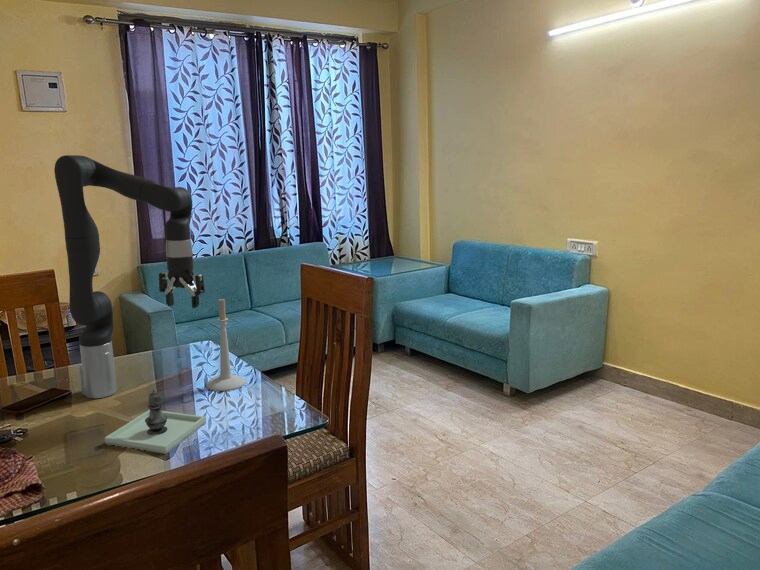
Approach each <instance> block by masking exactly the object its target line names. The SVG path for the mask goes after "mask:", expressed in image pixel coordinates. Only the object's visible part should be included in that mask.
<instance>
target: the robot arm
mask: <svg viewBox="0 0 760 570" xmlns="http://www.w3.org/2000/svg"><path fill="white" fill-rule="evenodd" d="M53 170H54V171H53V172H54V178H55V182H56V187H57V192H58V196H59V201H60V205H61V206H60V207H61V214H62V220H63V221H62V222H63V230H64V241H65V250H66V255H67V256H66V257H67V264H68V265H67V266H68V267H67V268H68V279H69V280H68V281H69V303H68V304H69V313H70V315H71V317H72V320H74V322H75V323H76V324H78V325H79V326H85V328H84V330H83V331H82V332H81V333H80V335H79V337H78V342H79V351H80V359H81V365H80V367H79V376H80V386H81V394H82V396H85V397H86V398H89V399H102V398H106V397H110V396H112V395H114V394H116V392H117V381H116V371H115V370H116V369H115V360H114V350H113V341H112V340H113V339H112V335H113V333H114V313H113V310H114V309H113V305H112V301H111V299H110V297H109V295H107V294H106V293H105V292H103V291H94V289H93V288H94V287H93V279H94V274H95V271H96V268H97V264H98V263H99V262H98V261H99V259H100V254H101V243H100V233H99V229H98V226H97V224H96V222H95V220H94V218H93V217H92V215H91V214H90V212H89V210H88V208H87V206H86V201H85V195H84V194H85V193H84V187H88V186H89V187H90V186H91V187H98V188H105V189H109V190H112V191H114V192H116V193H118V194H120V195H121V196H123V197H125V198H127V199H131V200H133V201H134V200H135V201H138V202H141V203H144V204H147V205H148V204H149V205H150V206H152V207H155V208H156V209H159V210H161V211H164V212H169V214H170V215H169V219H167V221H166V222H165V227H164V231H165V255H166V256H165V259H166V270H167V271H162V272H159V274H158V287H159V289H158V290H159V292H160V293H164V294H165V301H166V302H165V303H166V304H167V307H172V306H174V305H175V301H174V290H175V289H176V288H178V289H179V288H181V289H186V291H188V292H189V294H191V308H192V309H197V308H198V307H199V306H200V295H202V294H205V292H206V290H205V279H204V275H203V274H202V273H199V274H194V257H193V255H194V254H193V245H192V240H191V239H192V237H191V225H190V224H191V221H192V220H191V219H192V213H193V198H192V195H191V192H190V191H189V190H188V189H187V188H185V187H182V186H176V187H175V186H174V187H169V186H165V185H161V184H159V183H158V181H155V180H152V179H149V178H145V177H143V176H139V175H134V174H132V173H128V172H124V171H120V170H117V169H114V168H112V167H109V166H107V165H105V164H102V163H101V162H99V161H96V160H94V159H92V158H90V157H88V156H85V155H77V154H76V155H74V154H73V155H72V154H70V155H69V154H67V155H62V156H59V158H57V159H56V160H55V163H54V169H53ZM168 280H169V282H168Z"/></svg>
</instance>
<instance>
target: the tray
mask: <svg viewBox="0 0 760 570" xmlns="http://www.w3.org/2000/svg"><path fill="white" fill-rule="evenodd" d="M162 414H164V415H166V416H167V417H168V418H167V421H166V424H165V425H164V426H165V427H167V431H166V432H165V433H163V434H159V435H149V434H148V433H147V431H148V430H149V429H150V428H149V427H148V426H147V424H146V422H145V419H146V418H147V417H149V416H150V409H148V410H147V411H145V412H144V413H142V414H140V415H139V416H137V417H136V418H134V419H132V420H130V421H128V422H127V423H126V424H124V425H122V426H121V427H119V428H118V429H116V430H114V431H112V433H109V434H108V435H107V436H105V437H104V445H105V444H107V445H106V446H111V445H115V446H114V447H117V446H123V447H122V448H124V447H129V448H128V449H130V448H135V449H134V450H137V449H140V450H139V451H144V450H146V451H145V452H150V451H151V452H150V453H156V454H157V453H158V454H164V455H167V454H168V453H170V452H171V451H172V450H174V449H175V448H176V447H177V446H178V445H180V444H181V443H183V442H184V441H185V440H186V439H188V438H189V437H191V435H193V434H194V433H195V432H197V431H198V430H199V429H200V428H202V427H203V426H204V425H206V424H207V419H206V418H207V416H203V415H195V414H188V413H180V412H173V411H166V410H165V411H163V410H162Z"/></svg>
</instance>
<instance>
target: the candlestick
mask: <svg viewBox="0 0 760 570" xmlns="http://www.w3.org/2000/svg"><path fill="white" fill-rule="evenodd" d="M218 313H219V316H218V317H219V318H216V319H217V321H218V325H219V327H220V329H219V332H220V334H219V340H220V341H219V343H220V344H219V345H220V346H219V347H220V349H219V351H220V352H219V359H220V360H219V367H220V368H219V369H220V370H219V373H220V374H219V375H217V376H214V377H212V378H211V379H209V380H208V381H207V383H206V389H208V390H209V389H210V391H212V390H213V391H212V392H217V391H226V392H231V391H230V390H233V391H236V390H239V389H241V388H243V387H244V386H246V384H245V383H247V381H246V379H245V378H244V377H243V376H240V375H237V374H232V369H231V361H230V351H229V342H228V334H227V325H228V320H229V318H227V317H226V315H227V314H226V299H224V298H222V297H221V299H220V298H219V299H218ZM242 386H243V387H242ZM240 387H241V388H240ZM238 388H239V389H238ZM235 389H236V390H235Z"/></svg>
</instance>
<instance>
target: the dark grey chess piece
mask: <svg viewBox="0 0 760 570" xmlns="http://www.w3.org/2000/svg"><path fill="white" fill-rule="evenodd" d="M148 403H149V404H148V406H147V408H148V409H149V410H150V416H149V417H147V418H146V419H145V422H146V424H147V426H148V427H149V428H150V429H149V430H148V431H147V433H148V434H149V435H159V434H163V433H165V432H166V431H167V427H165V426H164V425H165V424H166V421H167V418H168V417H167V416H166V415H164V414H162V411H163V410H162V407H163V404H162V403H161V394H160V393H159V392H156V390H155V389H153V390H152V393H150V394H149V396H148Z"/></svg>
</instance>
